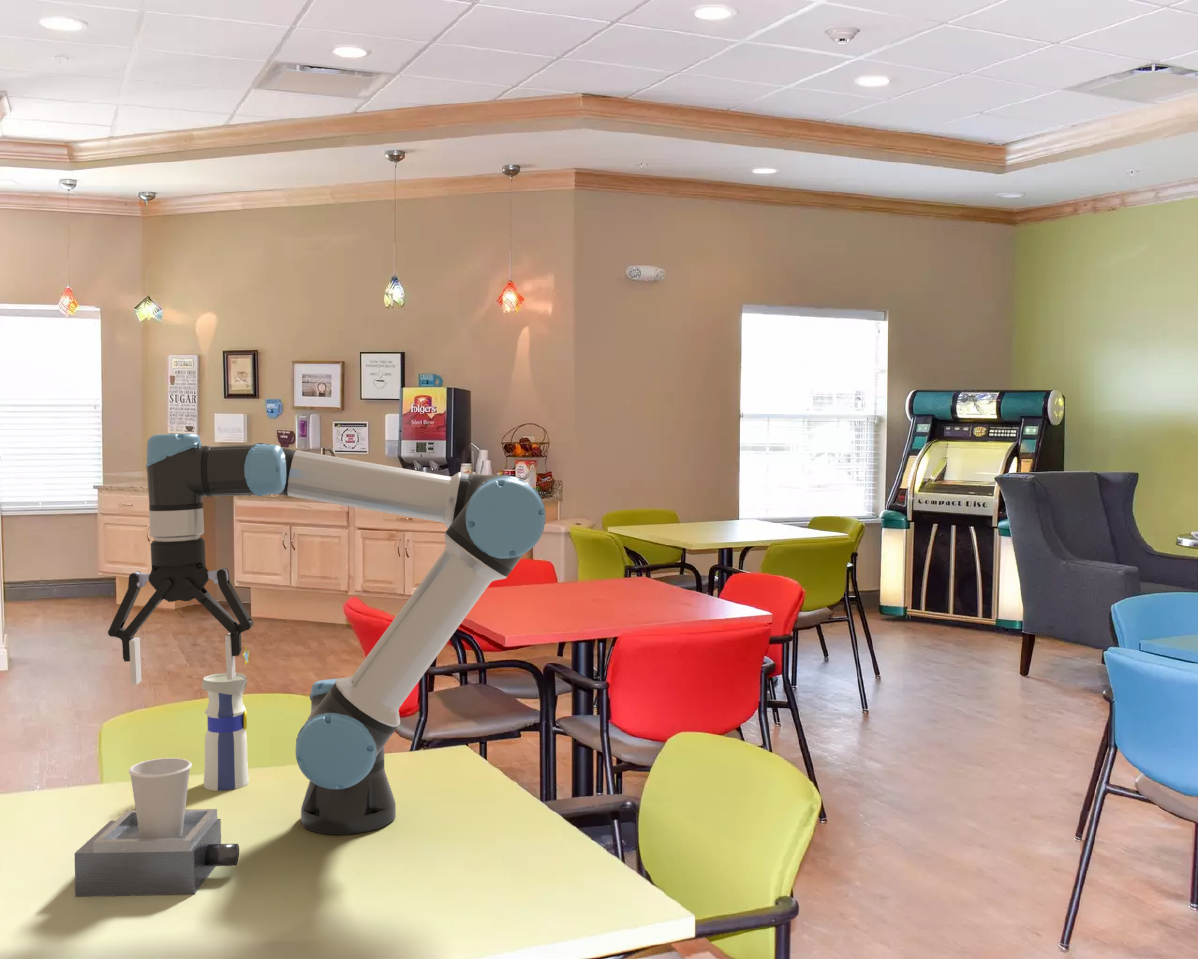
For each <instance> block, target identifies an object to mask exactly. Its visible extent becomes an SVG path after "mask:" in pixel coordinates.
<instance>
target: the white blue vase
mask: <svg viewBox="0 0 1198 959" xmlns="http://www.w3.org/2000/svg"><path fill="white" fill-rule="evenodd" d="M249 656H250V650H247V646H245V647H244V652H243V654H242V657H243V658H244V666H246V665H247V664H250V659H249V658H250V657H249ZM247 684H248V679H247V676H246V675H245V674H243V673H240V672H239V673H238V672H236V676H235V677H234V678H233V679H232V680H227V672H225V673H223V672H222V673H214V674H209V675H207V676H204V677H203V678H202V682H201V689H202V690H204V691H206V693H207V696H208V705H207V707H206V709H205V711H204V714H205V715H207V716H206V717H207V731H206V733H205V737H204V770H203V771H204V775H203V776H204V777H203V788H204V789H206V790H208V791H215V792H216V791H217V792H222V791H233V790H237V789H241V788H243V787H246V786H247V785H248V784H249V782H250V781H249V766H248V738H247V737H248V736H247V729H248V721H247V720H248V718H247V717H248V716H247V715H248V713H247V708H246V706H245V705H244V702H243V701H244V700H243V698H244V697H243V693H244V692H245V690H246V687H247Z"/></svg>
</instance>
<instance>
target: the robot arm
mask: <svg viewBox="0 0 1198 959" xmlns="http://www.w3.org/2000/svg"><path fill="white" fill-rule="evenodd" d="M145 468H146V475H147V476H146V477H147V490H148V493H147V494H148V503H149V505H148V507H149V508H148V509H149V510H148V513H149V514H148V515H149V536H150V537H151V538H153V539H154V540H152V541H151V543H150V560H151V571H150V573H143V572H141V571H139V570H137V571H134V572H132V573H130V574H129V576H128V586H127V587H128V588H127V590H126V592H125V593H124V596H123V599H122V600H121V602H120V605H119V608H118V609H117V612H116V613H115V616H114V617H113V620H112V622H111V624H110V626H109V629H108V631H107V635H108V636H109V637H111V638H112V637H114V638H118V639H120V640H121V643H122V644H121V645H122V659H123V661H124V663H125V662H129V664H130V667H129V668H130V685H131V686H137V685H138V684H140V683H141V682H142V660H141V656H142V655H141V638H140V637H134V636H135V635H136V634H137V632H138V631H139V630H140V628H142V626H143V625H144V623H145V622H146V621H147V620H148V619H149V617H150V616H151V615H152V613H153V612H154V611H155V610H156V608H157V607H158V606H159V605H160V604H161V603H162V601H167V602H168V603H173V602H177V601H181V602H190V601H193V600H196V601H197V602H198V603H200V604H201V605H203V607H204V608H206V610H207V611H208V612H209V613H210V614H211V615H212V616H213V617H214V619H216V620H217V621H218V622H219V623H220V624H221V625H222V627H223V628H225V630H226V631H227V634H226V635H225V636H224V644H225V645H224V646H225V649H224V650H225V668H226V670H225V673H227V680H232V679H233V678H234V677H235V676H236V673H237V672H236V657H239V656H240V655H241V653H242V651H243V650H242V633H243V632H245V631H248V630H250V629H252V627H253V625H254V621H253V620H252V617H251V616H250V614H249V612H248V610H247V609H246V607H245V606H244V604H243V601H242V600H241V598H240V597H239V595H238V593H237V591H236V590H235V587H233V584H232V583H231V579H230V573H229V569H228V568H227V567H222V568H220V569H215V570H208V569H207V565H206V564H207V563H206V544H205V543H206V541H205V539H204V538H203V537H201V536H202V535H203V534H205V523H204V521H205V520H204V502H203V501H204V497H205V498H206V497H209V498H211V497H239V496H240V497H241V496H242V497H243V496H246V497H247V496H248V497H249V496H257V497H263V496H269V495H278V496H286V497H292V498H298V499H304V500H310V501H315V502H322V503H328V504H333V505H339V506H344V507H351V508H355V509H356V508H358V509H361V510H369V511H373V512H378V513H379V512H380V513H385V514H392V515H396V516H402V517H407V518H413V519H414V518H415V519H420V520H426V521H432V522H436V523H437V522H438V523H443V524H444V525H445V526H446V528H447V530H446V531H445V532H444V534H443V535H444V541H445V549H444V551H443V552H442V553H441V554H440V556H439V557H438V558H437V560H436V561H435V563H434V564H433V566H432V567H431V568H430V570H429V571H428V572H427V574H426V575H425V576H424V578H423V579H422V580H421V582H420V583H419V585H417V587H416V589H414V591H413V593H412V594H411V596H410V597H409V598H408V600H407V601H406V602H405V603H404V604H403V606H402V607H401V609H400V611H398V613H397V614H396V616H395V617H394V619H393V620H392V621H391V623H390V624H389V626H388V627H387V628H386V630H385V631H384V632H383V634H382V635H381V636H380V638H379V640H377V642H376V643H375V645H374V646H373V648H372V649H371V650H370V652H369V653H368V654H367V656H366V657H365V658H364V659H363V661H362V663H361V664H360V665H359V667H358V668H357V669H356V670H355V672H354V673H353V674H352V675H351V676H345V677H341V678H329V679H322V680H316V681H315V682H313V684H312V685H311V688H310V695H309V700H310V705H311V706H310V713H309V716H308V718H307V719H306V721H305V723H304V724H303V726H301V728H300V730H299V731H298V734H297V737H296V740H295V758H296V763H297V766H298V767H299V770H300V771H301V773H302V774H303V775H304V777H305V778H306V779H308V780H309V782H308V785H307V788H306V792H305V796H304V798H303V801H302V805H301V807H300V824H301V825H302V827H304V829H306V830H308V831H311V832H315V833H319V834H325V835H353V834H360V833H367V832H370V831H374V830H378V829H380V828H383V827H385V826H387V825H389V824H391V823H392V822H393V821H394V820H395V818H396V816H397V815H396V814H397V813H396V809H397V807H396V801H395V800H396V799H395V797H394V794H393V791H392V788H391V785H390V782H389V780H388V776H387V773H386V769H385V745H386V743H388V741H389V740H390V738H391V737H392V736H393V735H394V733H395V731H396V730H397V728H398V727H399V726H400V724H401V719H400V718H401V717H400V712H399V710H400V708H401V706H402V705H403V703H404V702H405V701H406V699H407V698H408V697H409V696H410V694H411V692H412V691H413V690H414V689H415V687H416V685H417V684H418V683H419V682H420V680H421V679H422V678H423V676H424V675H425V673H426V672H427V670H428V669H429V668H430V666H431V665H432V664H433V662H434V661H435V660H436V658H437V657H438V656H439V654H440V652H441V651H443V649H444V647H445V646H446V645H447V643H448V642H449V641H450V639H451V637H452V636H453V635H454V633H455V632H456V631H457V630H458V628H459V627H460V625H461V624H462V622H463V621H465V618H466V617H467V616H468V614H469V613H470V612H471V610H472V609H473V608H474V606H475V605H476V603H477V602H478V601H479V600H480V598H481V596H482V595H483V594H484V593H485V591H486V590H487V588H488V587H489V585H491V583H492V582H494V581H499V580H504V579H507V578H508V576H509V575H510V574H511V573H512V571H513V570H514V568H515V567H516V566H517V564H518V563H519V561H520V560H521V559H522V557H523V556H524V555H525V554H526V553H527V552H529V551H531V549H533V548H534V547H535V546H536V544H538V542H539V541H540V539H541V537H542V535H543V533H544V530H545V525H546V508H545V504H544V502H543V499H542V498H541V496H540V495H539V493H538V491H537V490H536V489H535V488H534V487H533V486H531V484H530V483H528V482H526V481H525V480H523V479H521V478H519V477H517V476H513V475H509V474H494V475H493V474H475V473H467V472H462V471H459V472H457V473H455V474H454V475H453V476H449V475H443V474H437V473H432V472H425V471H421V470H420V471H418V470H414V469H413V470H412V469H410V468H409V469H407V468H401V467H397V466H390V465H385V464H380V463H379V464H378V463H374V462H368V461H362V460H355V459H350V458H344V457H339V456H333V455H328V454H327V455H326V454H322V453H315V452H309V451H304V450H299V449H298V450H297V449H291V448H286V447H281V445H277V444H270V443H263V442H258V443H253V444H242V445H241V444H240V445H239V444H237V445H235V444H234V445H219V446H210V445H203V444H202V442H201V437H200V436H199V435H198V434H197V433H169V434H167V433H166V434H162V433H161V434H153V435H151V436H150V437H149V438H148V439H147V442H146V464H145ZM210 579H211V580H212V581H213V584H214V585H218V586H219V590H220V591H221V593H222V594H223V597H224V598H225V600H226V602H227V603H228V605H229V607H230V609H231V611H232V612H233V614H234V616H235V618H236V620H238V622H237V621H236V620H235V619H234V618H233V616H232V615H230V614H229V612H228V611H227V610H225V608H224V607H223V606H222V605H221V604H220V603H219V602H218V601H217V600H216V599H215V598H214V597H213V596H212V594H211V592H210V591H209V590H208V589H206V587H205V586H206V584H207V583H208V581H209V580H210ZM147 582H149V583H150V585H151V586H152V588H154V590H155V592H154V593H153V594H152V595H151V597H150V598H149V599H148V601H147V602H146V604H144V606H143V607H142V608H141V610H140V611H139V612H138V613H137V615H136V616H135V617H134V619H133V620H132V621H131V622H130V623H129V625H128V626H127V627H126V628H124V626H125V624H126V621H127V619H128V617H129V615H130V613H131V610H132V609H133V607H134V605H135V602H136V600H137V598H138V596H139V594H140V591H141V589H142V588H143V587H145V586H146V583H147Z"/></svg>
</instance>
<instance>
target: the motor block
mask: <svg viewBox="0 0 1198 959" xmlns="http://www.w3.org/2000/svg"><path fill="white" fill-rule="evenodd" d="M221 820H222V819H221V818H218V808H202V809H201V808H200V809H199V808H197V809H195V808H194V809H189V808H188V809H187V808H185V816H184V824H183V833H182V835H181V836H180V837H178V838H157V839H140V835H139V828H138V822H137V815H136V809H134V810H133V809H129V810H126V811H125V812H124V813H123V814H122V815H121V816H120V817H119V818H117V820H109V821H108V822H107V823H106V824H105V825H104V826H103V827H102V828H100V829H99V831H97V832H96V833H95V834H94V835H93V836H91V838H89V840H87V841H86V842H85V843H84V844H83V845H82V846H81V847H80V848H79V849H78V850H76V851H75V852H74V890H75V891H74V893H75V894H74V896H75V898H76V897H78V898H80V897H82V898H83V897H122V896H123V897H126V896H127V897H129V896H130V897H132V896H171V895H172V896H175V895H176V896H177V895H179V896H181V895H182V896H183V895H195V894H197V892H198V891H199V889H200V888H201V886H202V885H203V884H204V882H206V880H207V879H208V877H209V876H210V874H211V873H212V872H213V870H214V869H215V868H216V867H232V866H233V867H236V866H237V865H238V863H239V859H240V846H239V843H222V826H221V824H222V822H221Z"/></svg>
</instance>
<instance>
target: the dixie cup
mask: <svg viewBox="0 0 1198 959" xmlns="http://www.w3.org/2000/svg"><path fill="white" fill-rule="evenodd" d="M192 767H193V764H192V762H191V761H189V760H188V759H184V758H178V757H164V758H163V757H161V758H154V759H148V760H144V761H140V762H138V763H136V764H133V765H132V766H131V767H129V768H128V773H129V775H130V779H131V787H132V792H133V793H132V794H133V800H134V801H133V802H134V807H135V810H136V815H137V822H138V828H139V835H140V839H157V838H178V837H180V836H181V835H182V833H183V824H184V816H185V809H186V807H187V797H188V796H187V795H188V790H189V788H188V787H189V781H190V771H191V768H192Z"/></svg>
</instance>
